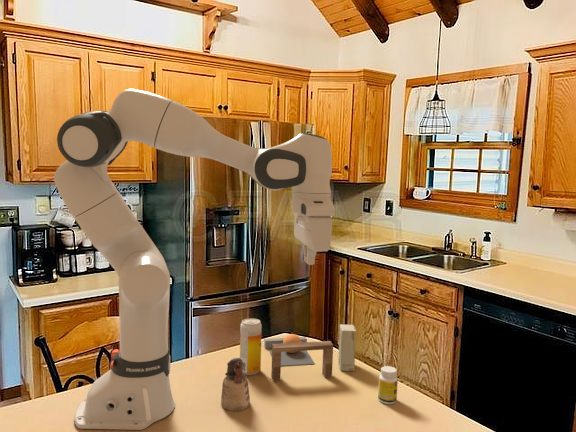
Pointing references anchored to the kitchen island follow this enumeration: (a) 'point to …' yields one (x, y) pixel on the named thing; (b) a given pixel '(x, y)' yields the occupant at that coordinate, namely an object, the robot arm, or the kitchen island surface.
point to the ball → (292, 340)
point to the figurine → (235, 387)
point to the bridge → (302, 346)
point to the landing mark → (295, 358)
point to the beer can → (250, 346)
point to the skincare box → (347, 347)
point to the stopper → (278, 341)
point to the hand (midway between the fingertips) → (309, 263)
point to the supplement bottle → (388, 385)
